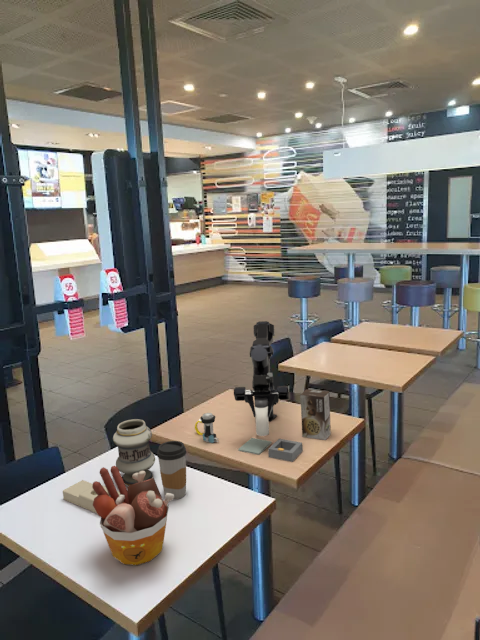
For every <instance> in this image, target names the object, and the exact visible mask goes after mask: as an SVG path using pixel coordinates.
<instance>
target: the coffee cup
mask: <svg viewBox="0 0 480 640" xmlns="http://www.w3.org/2000/svg"><path fill="white" fill-rule="evenodd" d="M156 451H157V452H156V453H157V454H156V455H157V456H156V457H157V458H158V464H159V471H160V472H159V473H160V477H161V484H162V488H163V495H164V496H165V495H166V493H171V494H174V498H173V500H172V501H174V500H179V499H183V498H184V497H185V495H186V493H187V459H186V458H187V457H186V455H187V448H186V446H185V444H184V443H183V442H182V441H179V440H170V441H165V442H163V443H161V444H159V446H158V448H157V450H156Z"/></svg>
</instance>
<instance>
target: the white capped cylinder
mask: <svg viewBox="0 0 480 640" xmlns="http://www.w3.org/2000/svg"><path fill="white" fill-rule="evenodd" d="M254 408H255V417H254V418H255V432H256V435H257V436H258V437H266V436H268V435H269V434H270V423H269V422H270V421H269V419H268V399H267V398H256V399H255V400H254Z"/></svg>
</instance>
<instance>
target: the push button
mask: <svg viewBox="0 0 480 640" xmlns="http://www.w3.org/2000/svg"><path fill="white" fill-rule="evenodd" d="M199 419H201V421H202V423H201V424H203V428H204V429H203V430H204V431H203V432H202V433H203V435H202V441H203V442H206V443H212V444H213V443H216V442H217V443H219V438H217V434H216V433H215V432H214V423H215V420H216V416H215V414H213V413H212V412H206V413H203V414H202V415H201V416H200V418H199Z"/></svg>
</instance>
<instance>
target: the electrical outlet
mask: <svg viewBox="0 0 480 640" xmlns="http://www.w3.org/2000/svg"><path fill="white" fill-rule="evenodd" d="M101 485H102V486H103V488H104V489H105V491H106V492H107V493H108V491H107V489H106V486H105V485H103V484H101ZM92 486H93V482H89V481H87V480H84V479H81V480H80V481H78V482H75V483H74V484H72V485H71V486H69V487H67V488H65V489H62V498H63V500H64V501H66V502H69V503H72V504H74V505H77V506H78V507H80V508H83V509H86V510H88V511H90V512H92V513H95V514H97V512H96V510H95V508H94V507H93V501H94V498H95V497H97V496H98V495H97V494H96V492H95V491H94V489H93V488H92ZM117 492H118V494H119V496H120V493H119V490H117ZM108 495H109V493H108ZM109 496H110V495H109Z"/></svg>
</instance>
